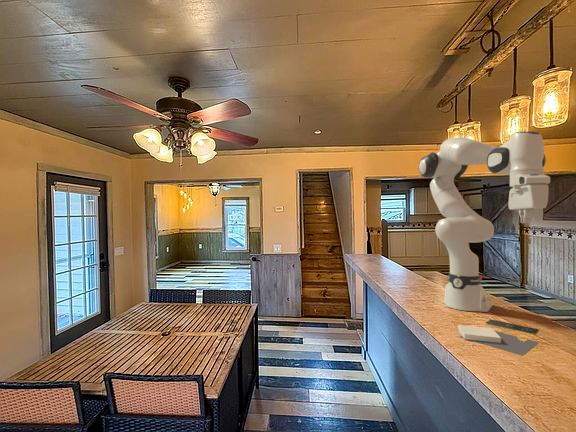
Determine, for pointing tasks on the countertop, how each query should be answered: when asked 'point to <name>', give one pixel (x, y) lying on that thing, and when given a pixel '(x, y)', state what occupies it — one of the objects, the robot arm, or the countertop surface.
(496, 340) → the tile
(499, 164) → the robot arm
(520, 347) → the mat
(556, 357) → the countertop surface
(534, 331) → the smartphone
